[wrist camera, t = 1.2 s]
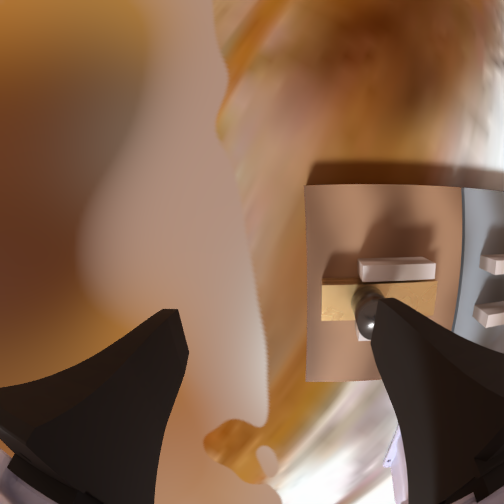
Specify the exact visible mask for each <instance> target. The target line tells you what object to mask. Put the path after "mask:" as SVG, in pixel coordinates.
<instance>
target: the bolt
mask: <svg viewBox="0 0 504 504" xmlns="http://www.w3.org/2000/svg"><path fill="white" fill-rule="evenodd" d="M437 283H438V281H437V280H435V279H425V280H404V281H378V282H362V280H361V279H360V277H356V278H322V301H321V321H342V320H356V324H357V327H358V330H359V332H360V334H361V335H362V336H363V337H364V338H366V339H368V340H371V337H372V332H373V327H374V322H375V316H376V310H377V304H378V299H383V298H392V297H393V298H396V299H398V300H400V301H401V302H403V303H405V304H407V305H408V306H410V307H412V308H413V309H415V310H416V311H418V312H420V313H421V314H423V315H424V316H432V315H434V308H435V301H436V292H437Z"/></svg>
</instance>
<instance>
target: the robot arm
mask: <svg viewBox="0 0 504 504" xmlns="http://www.w3.org/2000/svg"><path fill="white" fill-rule="evenodd" d="M370 344H371V348H372V352H373V356H374V359H375V363H376V366H377V368H378V371H379V373H380V376H381V378H382V381H383V383H384V385H385V388H386V390H387V393H388V395H389V398H390V400H391V403H392V405H393V408H394V410H395V413H396V416H397V419H398V423H399V425H398V427H397V430H396V433H395V436H394V438H393V441H392V443H391V446H390V448H389V451H388V453H387V455H386V458H385V460H384V462H383V467H391V473H392V480H393V488H394V496H395V502H396V504H504V353H501V352H498V351H495V350H491V349H489V348H486V347H484V346H481V345H479V344H477V343H474V342H472V341H470V340H467V339H465V338H463V337H461V336H459V335H457V334H456V333H454V332H452V331H450V330H448V329H446V328H445V327H443V326H441V325H439V324H438V323H436V322H434V321H433V320H431V319H429V318H428V317H426V316H424V315H423V314H421V313H420V312H418V311H416V310H415V309H413V308H412V307H410V306H408V305H407V304H405V303H403V302H401V301H400V300H398V299H396V298H393V297H392V298H383V299H378V304H377V310H376V316H375V322H374V327H373V332H372V337H371V342H370ZM188 355H189V350H188V346H187V342H186V339H185V335H184V331H183V327H182V323H181V319H180V315H179V312H178V309H162V310H160V311H159V312H157V313H156V314H154V315H153V316H151V317H150V318H148V319H147V320H146V321H144V322H143V323H142V324H140V325H139V326H137V327H136V328H135V329H133V330H132V331H131V332H129V333H128V334H126V335H125V336H124V337H122V338H121V339H119V340H118V341H116V342H114V343H113V344H112V345H110V346H108V347H107V348H105V349H104V350H102V351H101V352H99V353H97V354H96V355H94V356H92V357H90V358H89V359H87V360H85V361H83V362H81V363H79V364H77V365H75V366H73V367H70V368H68V369H66V370H63V371H61V372H58V373H56V374H54V375H51V376H48V377H45V378H42V379H39V380H36V381H32V382H28V383H24V384H20V385H14V386H8V387H2V388H0V439H1V440H2V441H3V442H4V443H5V444H6V445H7V446H8V447H9V448H10V449H11V450H12V451H13V452H14V453H15V454H14V456H13V458H11V457H10V456H9V455H7V454H6V453H5V452H4V451H3V450H1V449H0V504H154V495H155V484H156V475H157V468H158V462H159V456H160V450H161V446H162V440H163V436H164V432H165V428H166V425H167V421H168V418H169V416H170V413H171V410H172V407H173V405H174V402H175V399H176V397H177V394H178V391H179V388H180V386H181V383H182V380H183V377H184V374H185V370H186V365H187V360H188Z"/></svg>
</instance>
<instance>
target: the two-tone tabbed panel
mask: <svg viewBox="0 0 504 504" xmlns="http://www.w3.org/2000/svg"><path fill="white" fill-rule="evenodd" d="M304 196H305V216H306V242H307V359H306V382H339V381H365V380H380V379H382V378H381V376H380V373H379V371H378V368H377V366H376V363H375V359H374V356H373V352H372V348H371V344H370V342H371V340H368V339H366V338H364V337H363V336H362V335H361V334H360V332H359V330H358V327H357V324H356V320H342V321H321V301H322V278H356V277H360V279H361V280H362V282H378V281H404V280H425V279H435V280H437V281H438V283H437V292H436V301H435V308H434V315H432V316H426V317H428V318H429V319H431V320H433V321H434V322H436V323H438V324H439V325H441V326H443V327H445V328H446V329H448V330H450V331H452V332H454V333H456V334H457V335H459V336H461V337H463V338H465V339H467V340H470V341H472V342H474V343H477V344H479V345H481V346H484V347H486V348H489V349H491V350H495V351H498V352H501V353H504V191H496V190H486V189H475V188H461V187H447V186H428V185H397V184H339V185H306V186H304Z"/></svg>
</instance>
